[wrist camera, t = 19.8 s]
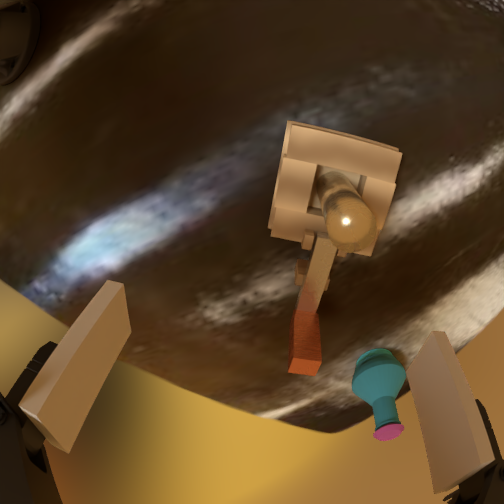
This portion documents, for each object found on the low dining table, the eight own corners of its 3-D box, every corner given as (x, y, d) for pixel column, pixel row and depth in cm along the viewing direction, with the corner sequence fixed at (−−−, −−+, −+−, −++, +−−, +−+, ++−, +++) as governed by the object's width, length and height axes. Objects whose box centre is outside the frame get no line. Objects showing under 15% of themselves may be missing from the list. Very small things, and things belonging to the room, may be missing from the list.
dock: (287, 120, 31) (287, 122, 27) (396, 147, 31) (412, 155, 26) (260, 262, 40) (256, 284, 35) (355, 280, 39) (361, 302, 35)
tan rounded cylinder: (320, 167, 32) (335, 200, 22) (353, 175, 32) (383, 211, 22) (312, 200, 34) (322, 247, 24) (345, 207, 34) (368, 256, 24)
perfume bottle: (338, 371, 48) (345, 445, 35) (370, 336, 44) (387, 415, 31) (378, 382, 49) (390, 451, 36) (409, 351, 45) (432, 422, 31)
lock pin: (313, 230, 33) (321, 277, 24) (339, 235, 33) (354, 284, 24) (289, 315, 39) (287, 372, 30) (312, 319, 38) (315, 375, 30)
